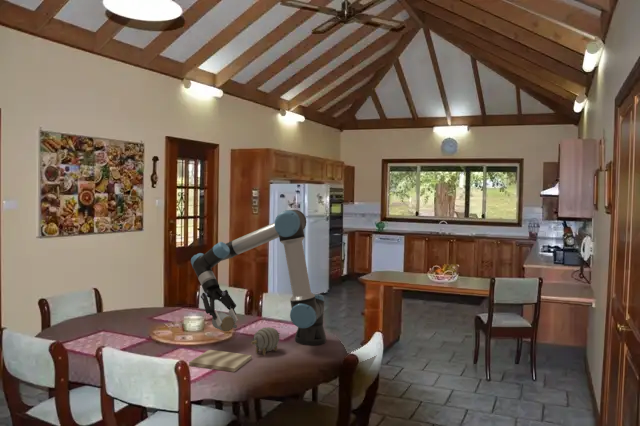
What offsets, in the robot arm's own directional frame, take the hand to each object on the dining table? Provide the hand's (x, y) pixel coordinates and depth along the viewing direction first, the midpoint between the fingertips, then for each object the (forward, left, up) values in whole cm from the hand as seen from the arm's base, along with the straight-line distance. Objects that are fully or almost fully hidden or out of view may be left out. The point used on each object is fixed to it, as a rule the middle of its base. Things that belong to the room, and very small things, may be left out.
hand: (228, 323), depth 244 cm
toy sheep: (-17, -3, -12) cm, 21 cm away
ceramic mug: (+3, -3, -4) cm, 5 cm away
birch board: (-5, +17, -12) cm, 22 cm away
